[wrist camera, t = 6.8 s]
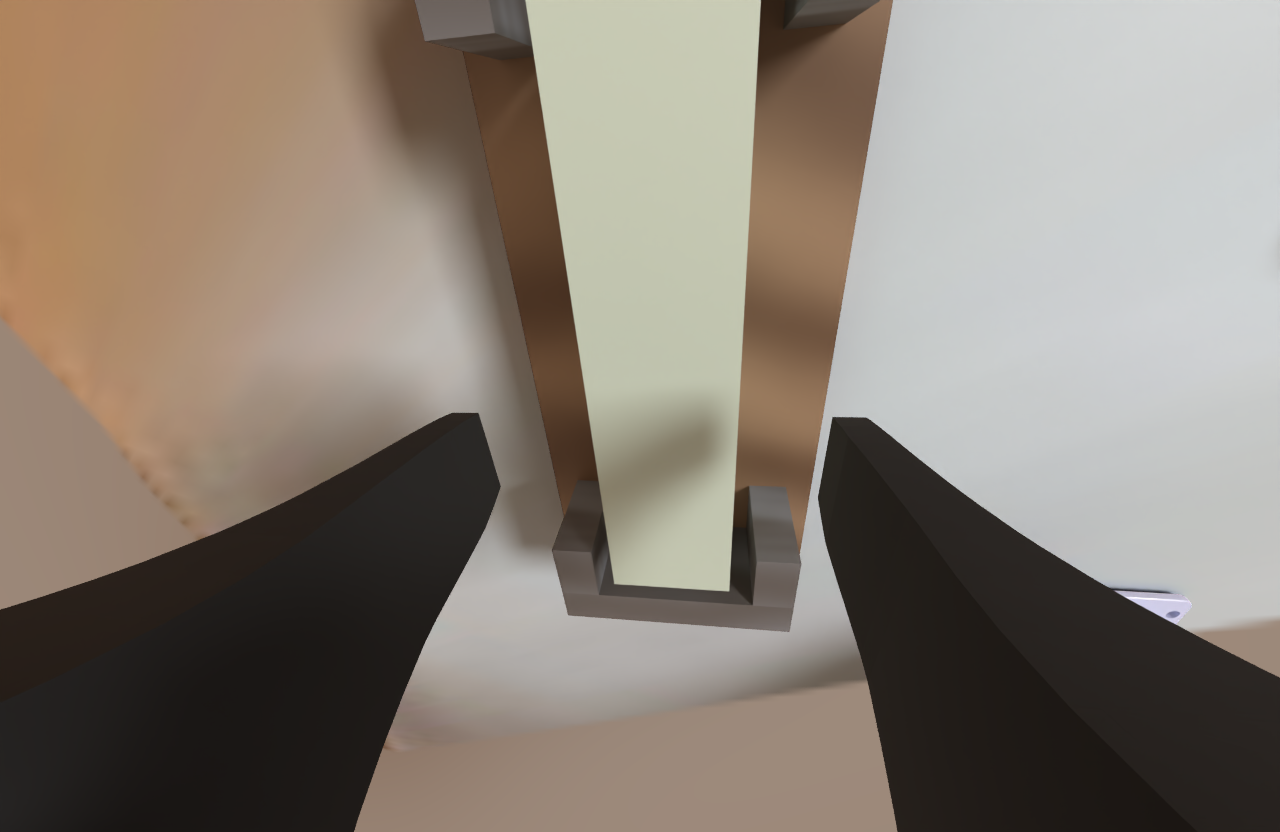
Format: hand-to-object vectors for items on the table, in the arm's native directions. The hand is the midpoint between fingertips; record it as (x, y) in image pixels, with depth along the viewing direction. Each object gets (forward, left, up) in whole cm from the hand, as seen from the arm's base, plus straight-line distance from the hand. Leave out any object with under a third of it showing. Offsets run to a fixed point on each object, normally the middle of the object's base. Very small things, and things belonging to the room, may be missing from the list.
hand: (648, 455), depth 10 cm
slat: (0, 0, -8) cm, 8 cm away
